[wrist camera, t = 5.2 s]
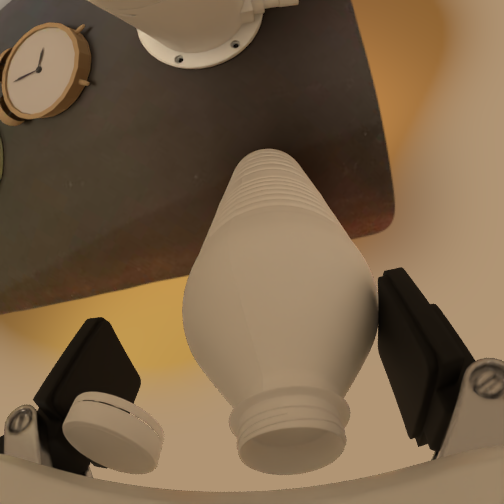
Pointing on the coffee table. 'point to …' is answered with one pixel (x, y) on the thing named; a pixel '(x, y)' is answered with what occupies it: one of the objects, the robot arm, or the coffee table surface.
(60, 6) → the coffee table surface
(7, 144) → the coffee table surface
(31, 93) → the alarm clock
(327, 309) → the plastic bottle and lid
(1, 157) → the holder
